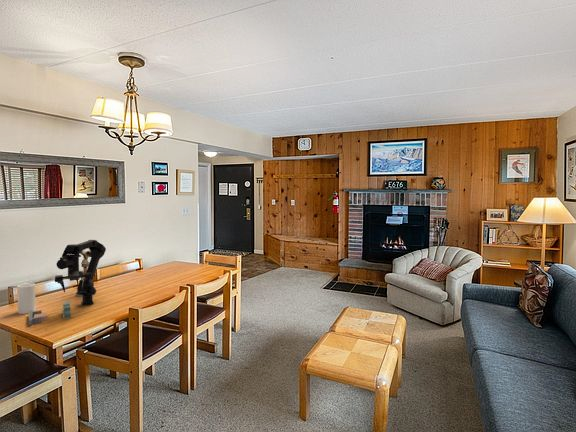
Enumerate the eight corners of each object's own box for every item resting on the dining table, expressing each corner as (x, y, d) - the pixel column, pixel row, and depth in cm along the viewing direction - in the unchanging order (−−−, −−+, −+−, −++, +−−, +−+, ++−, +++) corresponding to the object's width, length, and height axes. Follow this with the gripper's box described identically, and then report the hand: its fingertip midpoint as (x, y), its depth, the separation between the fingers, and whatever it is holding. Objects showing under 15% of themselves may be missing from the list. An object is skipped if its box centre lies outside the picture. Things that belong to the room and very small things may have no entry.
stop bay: (29, 315, 196) (29, 310, 196) (41, 313, 199) (41, 308, 199) (28, 326, 182) (28, 320, 181) (41, 324, 185) (41, 318, 184)
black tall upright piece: (87, 289, 249) (87, 241, 246) (103, 290, 247) (103, 242, 244) (69, 295, 232) (68, 245, 230) (86, 297, 230) (85, 246, 228)
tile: (34, 318, 193) (34, 314, 192) (47, 316, 196) (47, 312, 196) (33, 322, 188) (33, 318, 187) (47, 320, 191) (47, 316, 191)
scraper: (62, 312, 203) (62, 302, 202) (69, 311, 205) (69, 301, 204) (63, 319, 193) (63, 308, 193) (70, 317, 195) (70, 307, 195)
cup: (26, 314, 198) (25, 287, 197) (14, 313, 199) (13, 286, 198) (39, 309, 206) (38, 283, 205) (27, 308, 207) (26, 282, 206)
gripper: (54, 270, 192) (55, 297, 193) (92, 266, 203) (93, 292, 204) (54, 266, 201) (54, 292, 202) (90, 263, 212) (90, 287, 213)
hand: (73, 291), depth 205 cm, fingers open, 9 cm apart
